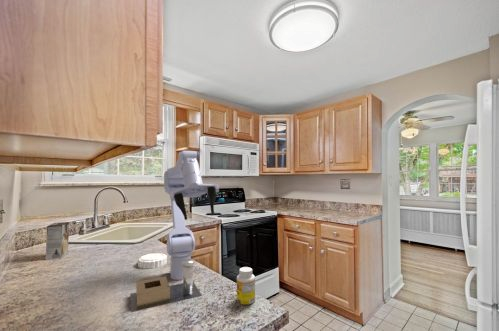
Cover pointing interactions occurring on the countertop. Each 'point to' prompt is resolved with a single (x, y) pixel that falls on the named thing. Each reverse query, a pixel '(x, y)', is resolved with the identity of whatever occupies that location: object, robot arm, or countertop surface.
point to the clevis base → (173, 296)
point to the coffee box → (57, 240)
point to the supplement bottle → (245, 286)
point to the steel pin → (188, 276)
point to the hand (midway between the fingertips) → (199, 214)
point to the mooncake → (152, 260)
